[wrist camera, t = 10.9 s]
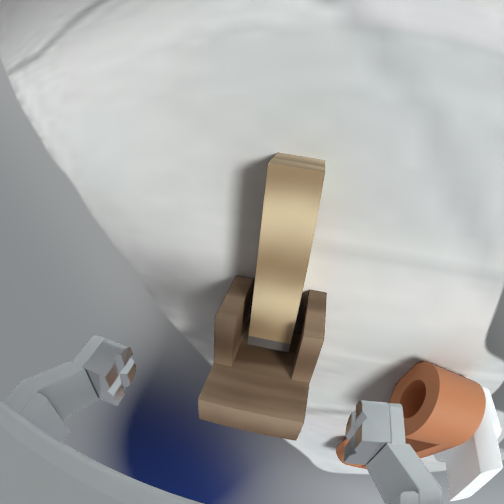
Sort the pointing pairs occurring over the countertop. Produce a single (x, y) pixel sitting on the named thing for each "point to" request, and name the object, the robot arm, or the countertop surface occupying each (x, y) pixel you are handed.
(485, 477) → the white piece
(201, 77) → the countertop surface
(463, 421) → the crank
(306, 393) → the wooden u-shaped bracket
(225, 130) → the countertop surface
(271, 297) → the rail
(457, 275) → the countertop surface
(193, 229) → the countertop surface
